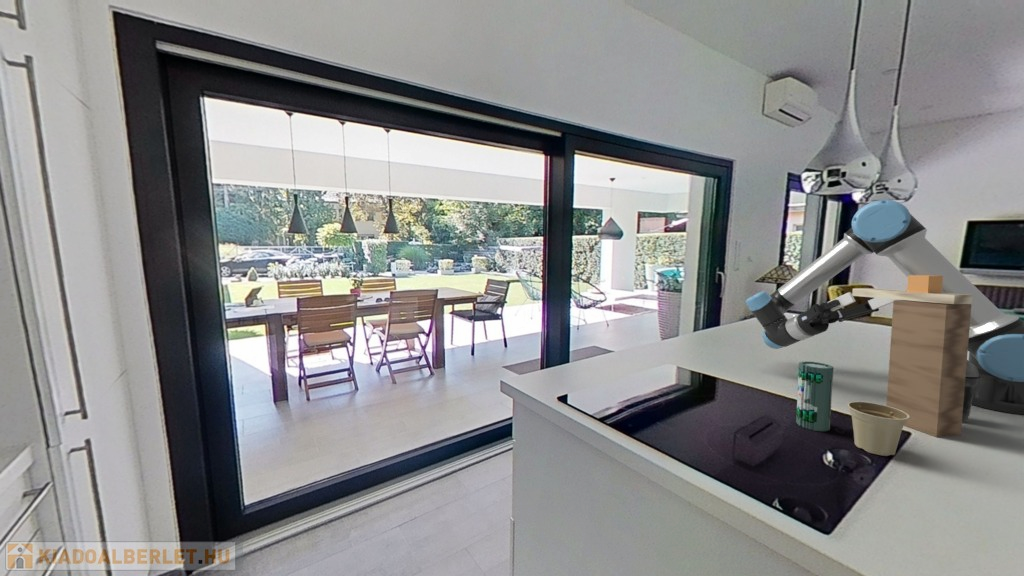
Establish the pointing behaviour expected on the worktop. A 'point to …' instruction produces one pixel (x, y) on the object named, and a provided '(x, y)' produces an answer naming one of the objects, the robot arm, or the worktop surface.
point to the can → (814, 396)
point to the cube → (924, 284)
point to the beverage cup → (969, 389)
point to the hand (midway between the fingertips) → (874, 296)
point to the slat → (913, 296)
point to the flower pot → (877, 427)
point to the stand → (929, 364)
